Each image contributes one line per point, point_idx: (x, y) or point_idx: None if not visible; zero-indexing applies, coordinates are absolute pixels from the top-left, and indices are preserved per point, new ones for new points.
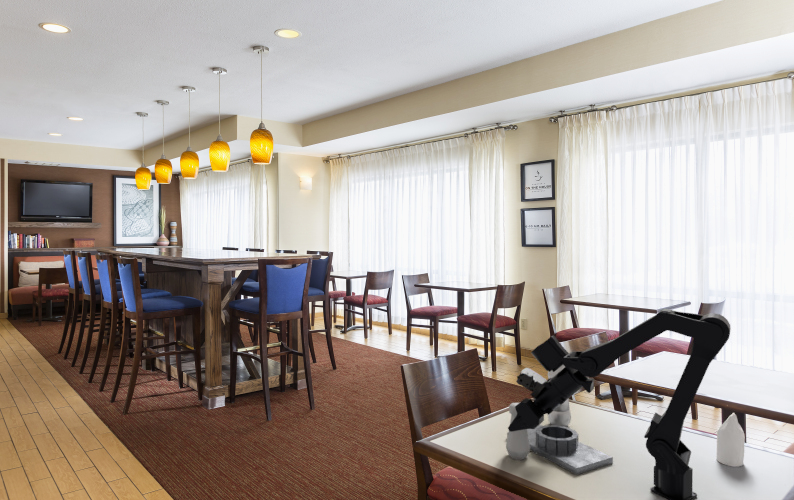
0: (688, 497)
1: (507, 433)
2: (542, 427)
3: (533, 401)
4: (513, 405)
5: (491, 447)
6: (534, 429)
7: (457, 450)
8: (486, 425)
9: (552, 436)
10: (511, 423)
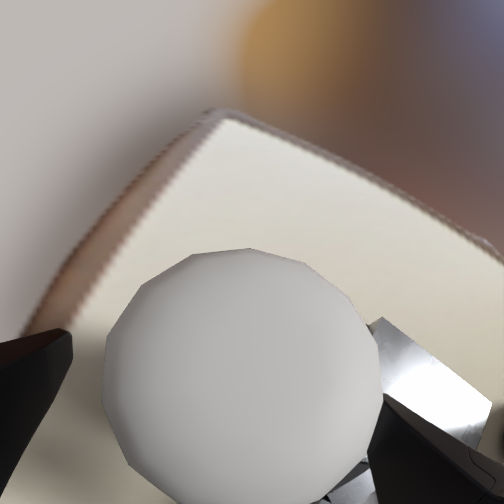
0: None
1: (380, 318)
2: None
3: (491, 496)
4: (172, 306)
5: None
6: (454, 403)
7: (181, 183)
8: (421, 237)
9: None
10: (7, 344)
